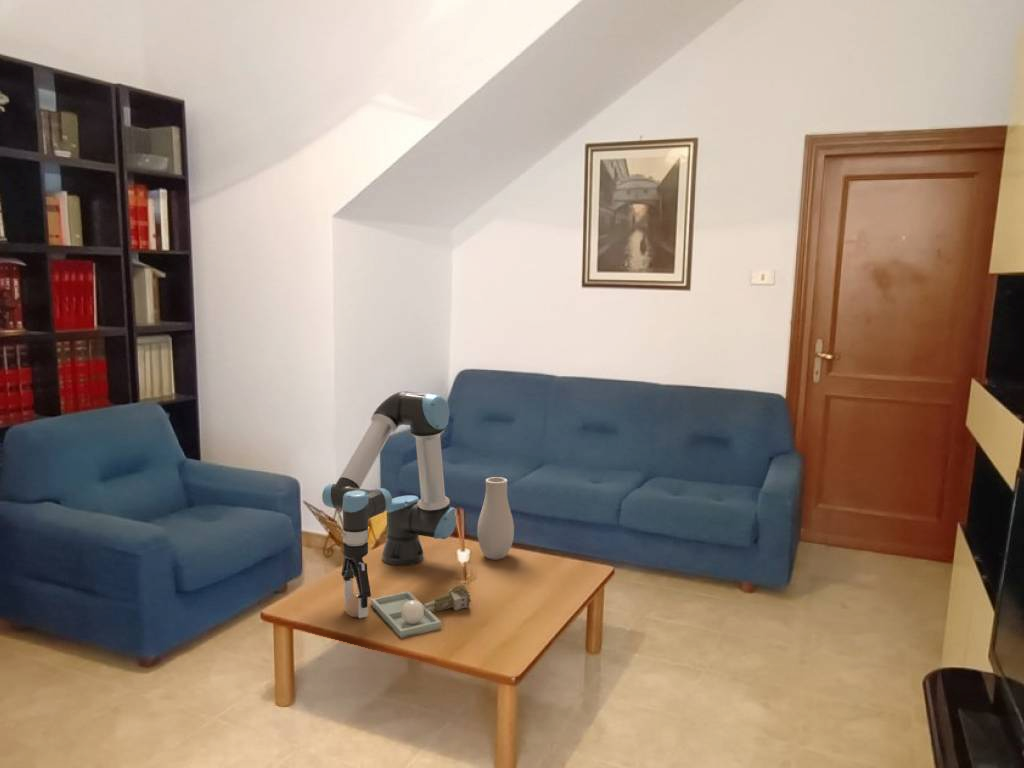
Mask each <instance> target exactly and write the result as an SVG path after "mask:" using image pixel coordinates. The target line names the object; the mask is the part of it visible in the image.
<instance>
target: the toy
mask: <svg viewBox="0 0 1024 768" xmlns="http://www.w3.org/2000/svg"><path fill="white" fill-rule="evenodd" d="M470 593H471V592H470V591H469V590H468V589H467V588H466V586H465V585H464V584H459V585H456V586H455V587H454V586H453V587H452V588H450V589H448V593H445V594H443V595H440V596H437V597H435V599H433V600H432V601H429V602H425V603H424V606H425V607H426V608H427V609H428V610H429V611H430V612H433V611H436V612H440V611H445V610H448V609H451V607H452V608H453V610H454V611H458V610H462V609H466V608H468V607H470V602H472V601H471V594H470Z"/></svg>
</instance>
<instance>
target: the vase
mask: <svg viewBox="0 0 1024 768" xmlns="http://www.w3.org/2000/svg"><path fill="white" fill-rule="evenodd" d="M484 494H485V496H484V500H483V503H482V508H481V511H480V513H479V517H478V521H477V528H476V530H477V540H478V544H479V547H480V550H481V551H482V553H483V555H484V556H485V557H486V558H487V559H489V560H495V561H496V560H502V559H503V558H505V557H506V556H507V555H508V553H509V551H511V550H510V549H511V548H512V546H513V543H514V542H513V541H514V537H515V524H514V520H513V519H514V518H513V514H512V512H511V507H510V504H509V503H510V502H509V499H508V479H507V478H505V477H500V476H499V477H498V476H492V477H488V478H486V479H485V493H484Z"/></svg>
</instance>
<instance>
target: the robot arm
mask: <svg viewBox="0 0 1024 768" xmlns="http://www.w3.org/2000/svg"><path fill="white" fill-rule="evenodd" d="M450 415H451V414H450V407H449V404H448V402H447V400H446V399H445V398H444V397H443V396H442V395H439V394H434V393H426V392H425V393H424V392H415V391H412V392H411V391H406V390H405V391H399V392H396V393H394V394H392V395H390V396H389V397H387V398H386V399H385V400H384V401H382V402H381V403H380V405H379V406H377V408H376V409H375V411H374V412H373V414H372V416H371V418H370V420H371V423H370V425H369V426H368V428H367V431H365V433H364V435H363V437H362V438H361V440H360V442H359V444H358V445H357V448H356V449H355V450H354V452H353V455H352V456H351V457H350V459H349V461H348V463H347V464H346V466H345V468H344V470H343V472H342V473H341V474H340V476H339V478H338V480H337V481H336V483H329V484H327V485H326V486H324V488H323V490H322V494H321V499H322V503H323V505H325V506H326V507H328V508H331V509H335V510H342V533H341V537H343V538H342V542H343V543H342V544H343V545H342V554H343V556H344V557H343V563H342V570H341V573H340V574H341V576H342V579H343V601H344V602H346V600H347V598H348V597H349V596H351V595H353V594H354V578H355V580H356V586H357V590H358V594H359V595H360V596H358V605H359V617H358V618H359V619H362V618H366V617H369V598H370V597H372V593H371V586H370V580H369V574H368V573H369V572H368V564H367V562H365V563H364V560H363V558H364V557H366V556H368V554H369V542H368V541H369V519H372V518H373V517H376V516H377V515H380V514H383V513H385V512H386V541H385V544H384V547H383V550H382V553H381V556H382V561H383V562H384V563H386V564H388V565H393V566H411V565H414V564H418V563H420V562H421V561H423V559H424V549H423V546H422V544H421V541H420V537H419V536H423V537H427V538H428V537H429V538H433V539H436V540H437V539H439V540H446V539H448V538H449V537H451V535H453V532H454V531H455V528H456V525H457V523H456V516H455V510H457V509H456V508H455V507H452V506H451V501H450V498H449V497H448V496H446V490H445V479H444V467H443V455H442V443H441V442H442V440H441V435H442V434H443V433H444V431H445V429H446V427H447V426H448V424H449V420H450V419H449V418H450ZM402 425H405V426H409V427H410V428H409V429H410V434H411V435H412V436H413V437H414V438H415V445H416V446H415V447H416V456H417V458H416V459H417V468H418V469H417V470H418V478H419V479H418V480H419V490H420V499H419V497H418V496H417V495H411V494H410V495H403V496H402V495H401V496H396V497H394V498H393V497H392V495H391V492H389V490H387V489H386V488H383V487H379V488H375V489H374V490H371V489H365V488H361V487H362V486H363V484H364V482H365V480H366V478H367V477H368V475H369V473H370V471H371V469H372V468H373V466H374V464H375V462H376V461H377V459H378V457H379V455H380V453H381V452H382V450H383V448H384V447H385V444H386V442H387V441H388V439H389V438H390V436H391V434H393V433H395V432H396V431H397V429H398V428H399V427H400V426H402Z"/></svg>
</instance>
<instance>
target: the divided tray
mask: <svg viewBox="0 0 1024 768" xmlns="http://www.w3.org/2000/svg"><path fill="white" fill-rule="evenodd" d="M409 600H417V601H419V602H420V603H421V604H422V605H423V607H424V615H423V618H422V619H421V620H420V621H419V622H418V623H415V624H409V623H407V622H405V621H404V620H403V618H402V616H401V609H402V606H403V605H404V603H406V602H407V601H409ZM370 606H371V608H372V609H373V610H374V611H375V612H376V613H377V614H378V616H380V618H382V619H383V621H384V622H385V623H386V624H387V625H388V626H389V627H390V628H391V629H392V631H393V632H394V633H395V634H396V635H397V636H398V637H399V638H400V639H404V638H409V637H412V636H417V635H419V634H425V633H429V632H432V631H437V630H441V629H442V621H441V620H440V619H439V618H438V617H437V616H436V615H435V614H434V613H432V611H429V610H428V609H427V608H428V607H425V604H423V603H422V602H421V601H420V600H419V599H418V598H416V596H415V595H413V594H412V593H411V591H402V592H397V593H393V594H388V595H384V596H380V597H374V598H371V599H370Z"/></svg>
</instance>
